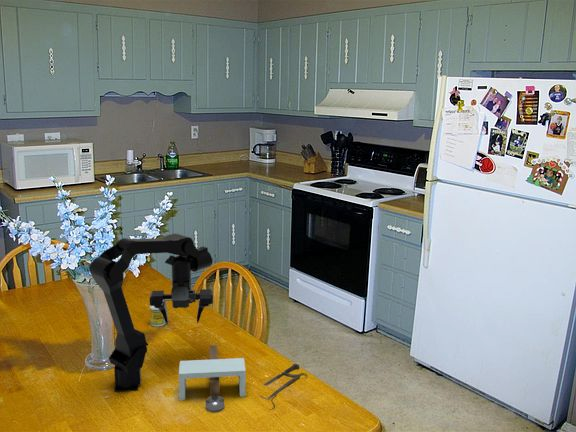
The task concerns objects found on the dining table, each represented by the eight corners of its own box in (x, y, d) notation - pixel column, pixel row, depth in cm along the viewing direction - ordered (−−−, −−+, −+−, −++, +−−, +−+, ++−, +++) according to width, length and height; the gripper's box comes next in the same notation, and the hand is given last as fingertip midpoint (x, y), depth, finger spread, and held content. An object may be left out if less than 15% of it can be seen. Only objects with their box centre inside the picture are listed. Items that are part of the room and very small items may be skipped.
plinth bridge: (179, 400, 149) (178, 373, 147) (180, 386, 156) (180, 360, 154) (245, 396, 152) (245, 370, 150) (243, 383, 158) (243, 358, 156)
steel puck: (205, 413, 144) (205, 406, 143) (205, 402, 149) (205, 396, 148) (224, 412, 145) (224, 405, 144) (223, 401, 150) (223, 394, 149)
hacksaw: (295, 365, 169) (295, 361, 169) (322, 377, 163) (322, 373, 163) (240, 399, 151) (240, 394, 151) (268, 413, 145) (268, 408, 145)
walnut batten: (210, 396, 152) (210, 380, 150) (209, 360, 171) (209, 345, 170) (219, 396, 152) (219, 380, 151) (217, 359, 172) (217, 345, 170)
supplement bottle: (163, 319, 198) (162, 294, 196) (167, 325, 194) (166, 300, 191) (148, 322, 196) (147, 297, 194) (152, 328, 191) (151, 302, 189)
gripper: (146, 286, 155) (148, 336, 159) (212, 284, 158) (213, 333, 162) (150, 272, 166) (152, 320, 170) (212, 271, 169) (212, 317, 173)
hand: (182, 323), depth 168 cm, fingers open, 9 cm apart
